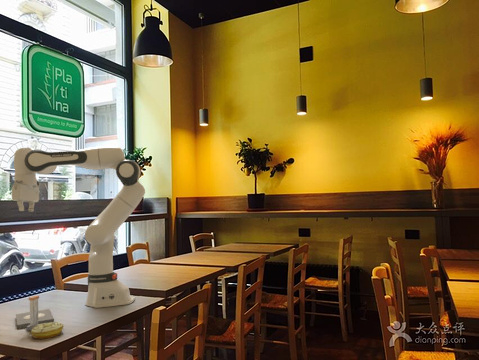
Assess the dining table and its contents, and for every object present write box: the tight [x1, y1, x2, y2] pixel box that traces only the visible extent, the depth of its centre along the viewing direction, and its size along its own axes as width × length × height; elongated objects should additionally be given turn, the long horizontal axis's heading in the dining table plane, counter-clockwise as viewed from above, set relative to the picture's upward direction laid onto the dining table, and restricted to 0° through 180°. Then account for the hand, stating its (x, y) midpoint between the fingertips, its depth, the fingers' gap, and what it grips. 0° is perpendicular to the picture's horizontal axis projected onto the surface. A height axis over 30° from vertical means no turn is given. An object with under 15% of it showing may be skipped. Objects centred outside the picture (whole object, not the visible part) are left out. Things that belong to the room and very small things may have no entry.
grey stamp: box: [25, 295, 40, 332], centre depth 149 cm, size 4×4×12 cm
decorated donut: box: [30, 321, 64, 340], centre depth 142 cm, size 10×11×4 cm
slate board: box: [15, 308, 55, 330], centre depth 161 cm, size 18×13×2 cm
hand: (26, 211), depth 180 cm, fingers open, 8 cm apart
